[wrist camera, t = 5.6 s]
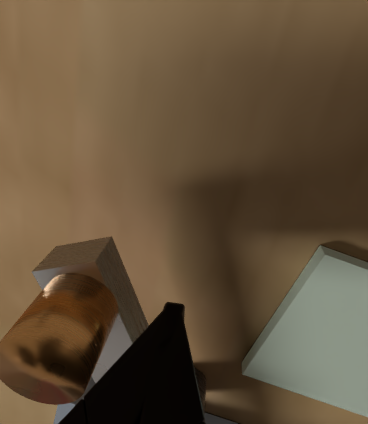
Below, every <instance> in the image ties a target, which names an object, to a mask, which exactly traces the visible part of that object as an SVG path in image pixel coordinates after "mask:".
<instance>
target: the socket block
mask: <svg viewBox="0 0 368 424" xmlns="http://www.w3.org/2000/svg"><path fill="white" fill-rule="evenodd" d="M95 384H96V383H95V382H94V380H93V378H92V376H91V378H90V381H89V383H88V385H87V388H86V390H85V392H84V394H83V395H82V396H81V397H80V398H79V399H78V400H76V401H74V402H71V403H67V404H60V405H58V407H57V411H56V415H55V420H54V424H58V423H59V422H60V421H61V420H62V419H63V418H64V417H65V416H66V415H67V414H68V413H69V412H70V411H71V410H72V408H73V407H74V406H75V405H76V404H77V403H78V402H79V401H80V400H81V399H83V400H84V396H85V395H86V393H87V392H88V391H89V390H90V389H91V388H92V387H93V386H94V385H95ZM204 417H205V422H206V424H238V423H235V422H232V421H229V420H226V419H223V418H220V417H217V416H214V415H211V414H208V413H204Z"/></svg>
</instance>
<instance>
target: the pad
mask: <svg viewBox="0 0 368 424" xmlns="http://www.w3.org/2000/svg"><path fill="white" fill-rule="evenodd" d="M242 375H245V376H248V377H251V378H254V379H257V380H260V381H263V382H266V383H269V384H272V385H275V386H278V387H281V388H284V389H286V390H289V391H292V392H295V393H298V394H301V395H304V396H307V397H310V398H313V399H316V400H319V401H322V402H325V403H328V404H331V405H333V406H336V407H339V408H342V409H345V410H348V411H351V412H354V413H357V414H360V415H363V416H366V417H368V262H365V261H362V260H360V259H357V258H354V257H351V256H349V255H346V254H343V253H340V252H337V251H335V250H332V249H329V248H326V247H324V246H321V245H320V246H319V247H318V249H317V250H316V252H315V253H314V255H313V256H312V258H311V259H310V261H309V262H308V264H307V265H306V267H305V268H304V270H303V271H302V273H301V274H300V276H299V277H298V279H297V280H296V282H295V283H294V285H293V286H292V288H291V289H290V291H289V292H288V294H287V295H286V297H285V298H284V300H283V301H282V303H281V304H280V306H279V307H278V309H277V310H276V312H275V313H274V315H273V316H272V318H271V319H270V321H269V322H268V324H267V325H266V327H265V328H264V330H263V331H262V333H261V334H260V336H259V337H258V339H257V340H256V342H255V343H254V345H253V346H252V348H251V349H250V351H249V352H248V354H247V355H246V357H245V358H244V360H243V361H242Z"/></svg>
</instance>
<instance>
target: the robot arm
mask: <svg viewBox="0 0 368 424" xmlns="http://www.w3.org/2000/svg"><path fill="white" fill-rule="evenodd" d="M184 312H185V306H184V305H183V304H179V303H172V302H167V303H166V304H165V306H164V309H163V311H162V312H161V313H160V314H159V315H158V316H157V317H156V318H155V320H154V321H153V322H152V323H151V324H150V325H149V326H148V327H147V328H146V329H145V330H144V332H143V333H142V334H141V335H140V336H139V337H138V338H137V339H136V340H135V341H134V342H133V343H132V345H131V346H130V347H129V348H128V349H127V350H126V351H125V352H124V353H123V354H122V355H121V356H120V358H119V359H118V360H117V361H116V362H115V363H114V364H113V365H112V366H111V367H110V368H109V370H108V371H107V372H106V373H105V374H104V375H103V376H102V377H101V378H100V379H99V380H98V381H97V383H96V384H95V385H94V386H93V387H92V388H91V389H90V390H89V391H88V392H87V393H86V395H85V396H84V400H83V399H81V400H80V401H79V402H78V403H77V404H76V405H75V406H74V407H73V408H72V410H71V411H70V412H69V413H68V414H67V415H66V416H65V417H64V418H63V419H62V420H61V421H60V422H59V423H58V424H206V422H205V417H204V412H203V407H202V403H201V398H200V393H199V389H198V384H197V379H196V375H195V370H194V366H193V361H192V356H191V352H190V347H189V342H188V338H187V333H186V328H185V324H184Z"/></svg>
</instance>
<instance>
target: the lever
mask: <svg viewBox="0 0 368 424" xmlns="http://www.w3.org/2000/svg"><path fill="white" fill-rule="evenodd" d="M32 273H33V275H34V277H35V278H36V280H37V282H38V284H39V285H40V287H41V289H42V291H41V293H40V294H39V295H38V296H37V298H36V299H35V300H34V301H33V302H32V304H31V305H30V306H29V307H28V308H27V310H26V311H25V312H24V313H23V314H22V316H21V317H20V318H19V319H18V321H17V322H16V323H15V324H14V325H13V327H12V328H11V329H10V330H9V331H8V333H7V334H6V335H5V336H4V338H3V339H2V340H1V341H0V379H1V380H2V382H4V383H5V384H6V385H7V386H8V387H9V388H11V389H12V390H13V391H15V392H17V393H18V394H20V395H22V396H24V397H26V398H28V399H31V400H34V401H37V402H41V403H45V404H54V405H60V404H67V403H71V402H74V401H76V400H78V399H79V398H80V397H81V396H82V395H83V394H84V392H85V390H86V388H87V385H88V383H89V381H90V378H91V376H92V378H93V380H94V382H95V383H97V381H98V380H99V379H100V378H101V377H102V376H103V375H104V374H105V373H106V372H107V371H108V370H109V368H110V367H111V366H112V365H113V364H114V363H115V362H116V361H117V360H118V359H119V358H120V356H121V355H122V354H123V353H124V352H125V351H126V350H127V349H128V348H129V347H130V346H131V345H132V343H133V342H134V341H135V340H136V339H137V338H138V337H139V336H140V335H141V334H142V333H143V332H144V330H145V329H146V328H147V327H148V326H149V325H148V323H147V320H146V318H145V315H144V313H143V311H142V308H141V306H140V303H139V301H138V298H137V296H136V294H135V291H134V289H133V286H132V284H131V281H130V279H129V277H128V274H127V272H126V269H125V267H124V265H123V262H122V260H121V257H120V255H119V252H118V250H117V248H116V245H115V243H114V240H113V238H112V237H106V238H100V239H95V240H89V241H84V242H78V243H72V244H67V245H61V246H56V247H55V248H54V249H53V250H52V251H51V252H50V253H49V254H48V255H47V256H46V257H45V258H44V259H43V261H42V262H41V263H40V264H39V265H38V266H37V267H36V268H35V269H34V270H33V271H32ZM194 370H195V375H196V379H197V384H198V389H199V393H200V398H201V403H202V407H203V412H204V413H205V395H206V378H205V376H204V375H203V374H202V373H201V372H200V371H199V370H197V369H195V368H194Z"/></svg>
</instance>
